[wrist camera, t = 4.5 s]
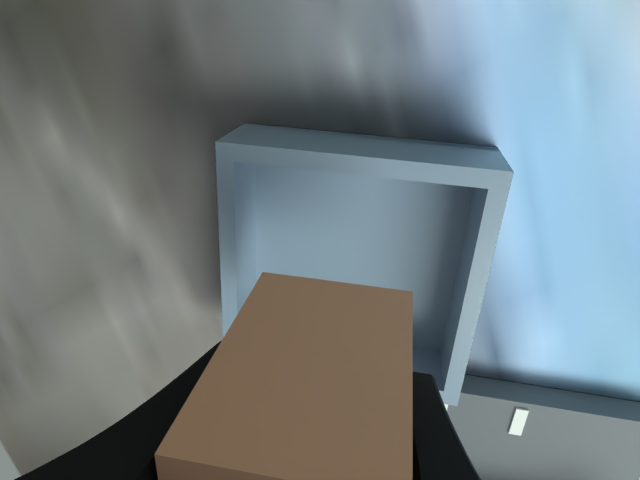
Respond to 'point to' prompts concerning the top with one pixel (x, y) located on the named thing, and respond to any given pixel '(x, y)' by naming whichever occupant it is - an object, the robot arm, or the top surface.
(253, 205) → the tray
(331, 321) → the block
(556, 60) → the top surface
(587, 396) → the plate
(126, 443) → the robot arm
